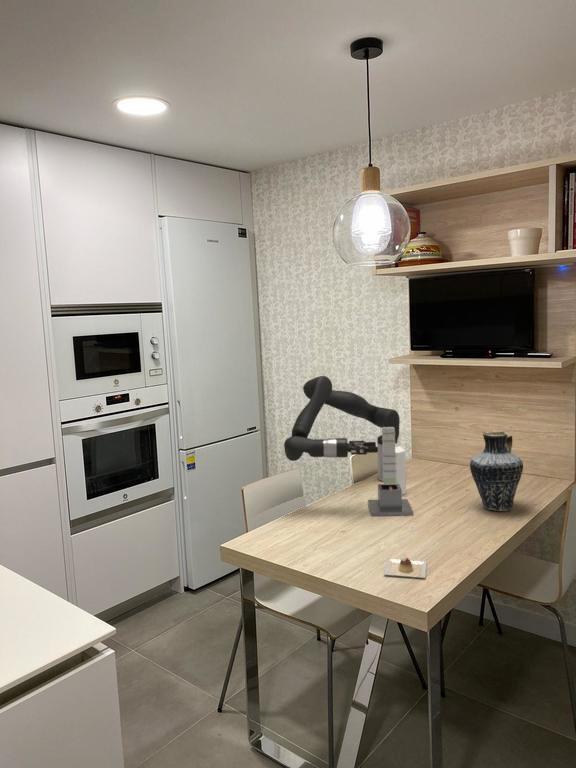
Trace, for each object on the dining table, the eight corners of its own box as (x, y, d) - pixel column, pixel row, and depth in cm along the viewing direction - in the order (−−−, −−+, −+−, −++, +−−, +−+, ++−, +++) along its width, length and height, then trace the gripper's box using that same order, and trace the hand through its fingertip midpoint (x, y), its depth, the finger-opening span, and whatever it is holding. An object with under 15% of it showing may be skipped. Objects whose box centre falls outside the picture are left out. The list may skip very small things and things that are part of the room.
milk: (406, 493, 261) (405, 443, 258) (397, 497, 257) (397, 445, 254) (394, 491, 266) (394, 441, 263) (385, 494, 261) (385, 443, 259)
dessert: (426, 564, 190) (426, 549, 189) (425, 581, 178) (425, 565, 178) (387, 561, 193) (387, 547, 192) (383, 577, 181) (383, 562, 181)
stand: (367, 503, 250) (367, 479, 249) (407, 502, 249) (407, 478, 248) (371, 516, 234) (370, 490, 233) (413, 515, 233) (412, 490, 232)
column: (382, 481, 243) (381, 427, 240) (394, 481, 243) (393, 426, 240) (383, 484, 238) (382, 429, 236) (396, 484, 238) (395, 429, 235)
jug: (511, 519, 225) (512, 439, 221) (461, 510, 237) (461, 434, 234) (531, 505, 240) (531, 430, 237) (483, 496, 253) (483, 425, 249)
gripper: (335, 442, 232) (378, 441, 231) (334, 434, 246) (374, 434, 246) (335, 461, 233) (378, 460, 232) (334, 453, 247) (375, 452, 246)
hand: (376, 447), depth 239 cm, fingers open, 8 cm apart
